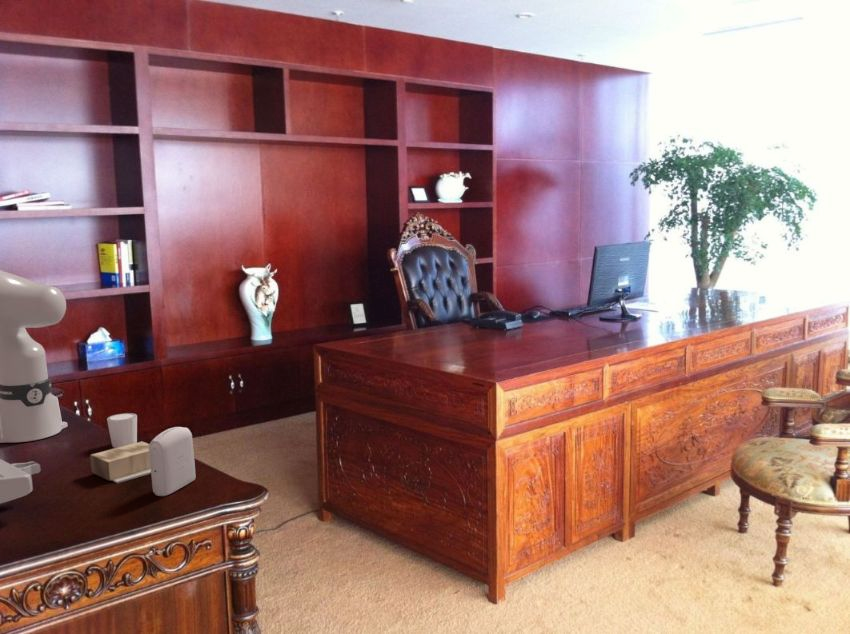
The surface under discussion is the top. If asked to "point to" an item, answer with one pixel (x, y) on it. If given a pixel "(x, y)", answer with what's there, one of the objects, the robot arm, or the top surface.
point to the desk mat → (132, 476)
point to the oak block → (121, 461)
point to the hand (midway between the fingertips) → (37, 466)
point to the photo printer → (172, 460)
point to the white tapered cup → (123, 429)
